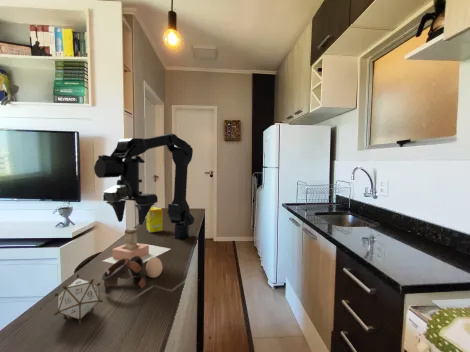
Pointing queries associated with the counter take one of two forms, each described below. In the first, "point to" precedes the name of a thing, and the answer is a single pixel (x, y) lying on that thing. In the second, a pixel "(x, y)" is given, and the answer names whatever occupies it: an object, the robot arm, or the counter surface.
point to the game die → (78, 298)
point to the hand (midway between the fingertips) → (130, 223)
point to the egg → (154, 267)
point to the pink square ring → (130, 251)
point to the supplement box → (154, 220)
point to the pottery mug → (124, 271)
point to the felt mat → (153, 252)
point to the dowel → (130, 239)
